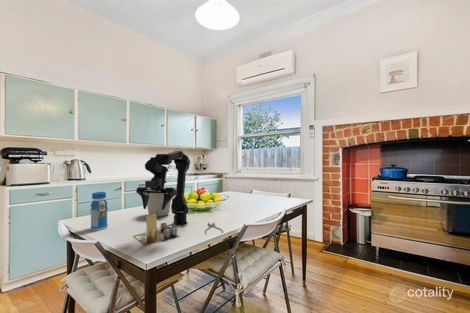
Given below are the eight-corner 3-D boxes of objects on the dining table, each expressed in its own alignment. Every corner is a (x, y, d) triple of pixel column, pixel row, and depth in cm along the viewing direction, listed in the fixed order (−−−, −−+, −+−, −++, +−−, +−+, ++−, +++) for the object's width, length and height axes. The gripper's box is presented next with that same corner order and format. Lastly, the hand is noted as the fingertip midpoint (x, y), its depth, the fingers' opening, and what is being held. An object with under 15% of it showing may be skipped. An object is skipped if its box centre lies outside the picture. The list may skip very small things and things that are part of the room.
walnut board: (166, 230, 126) (166, 228, 126) (180, 238, 113) (180, 236, 113) (132, 237, 114) (132, 235, 114) (143, 247, 101) (143, 245, 101)
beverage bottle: (87, 231, 125) (87, 194, 125) (94, 226, 134) (93, 191, 134) (104, 230, 127) (104, 193, 127) (109, 225, 135) (109, 191, 135)
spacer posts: (164, 229, 125) (164, 221, 125) (178, 236, 112) (178, 228, 112) (147, 232, 119) (147, 224, 119) (160, 241, 107) (160, 232, 107)
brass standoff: (154, 239, 110) (154, 213, 110) (158, 241, 106) (158, 215, 106) (145, 241, 107) (145, 215, 107) (148, 243, 103) (148, 216, 103)
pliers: (206, 234, 118) (197, 223, 136) (206, 236, 118) (197, 225, 136) (224, 231, 121) (213, 222, 140) (224, 233, 121) (213, 223, 140)
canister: (176, 212, 167) (176, 183, 167) (166, 218, 149) (166, 186, 149) (152, 211, 169) (152, 182, 169) (139, 218, 151) (139, 185, 151)
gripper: (133, 172, 109) (125, 205, 103) (170, 172, 106) (164, 206, 100) (145, 179, 119) (138, 210, 113) (179, 179, 116) (174, 211, 110)
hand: (153, 209), depth 109 cm, fingers open, 9 cm apart
